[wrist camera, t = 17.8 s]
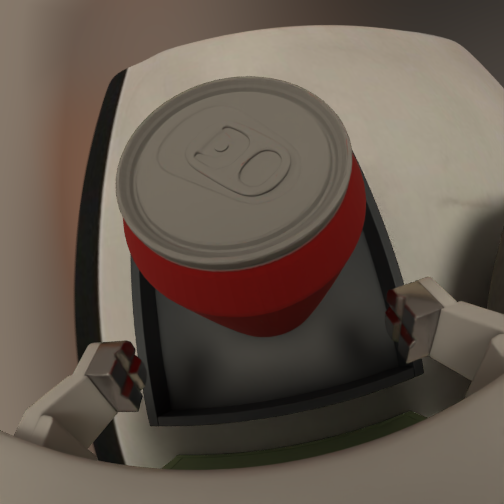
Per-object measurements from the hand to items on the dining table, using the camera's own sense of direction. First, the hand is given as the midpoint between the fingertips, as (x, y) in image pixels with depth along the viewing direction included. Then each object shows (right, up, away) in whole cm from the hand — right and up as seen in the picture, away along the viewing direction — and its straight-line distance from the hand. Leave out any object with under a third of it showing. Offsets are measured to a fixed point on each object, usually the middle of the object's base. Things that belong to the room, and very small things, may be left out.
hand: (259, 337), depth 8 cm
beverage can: (+1, +1, +9) cm, 9 cm away
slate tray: (+1, 0, +9) cm, 9 cm away
